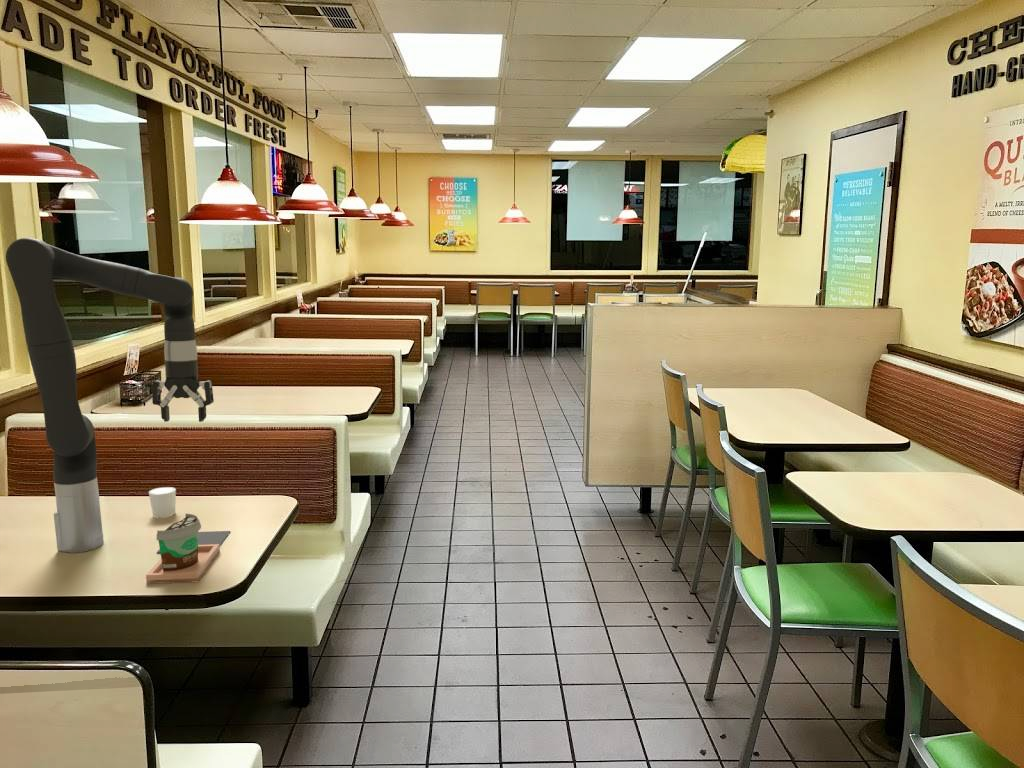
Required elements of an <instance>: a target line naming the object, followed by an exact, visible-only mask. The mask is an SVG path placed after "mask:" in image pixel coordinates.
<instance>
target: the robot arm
mask: <svg viewBox="0 0 1024 768" xmlns="http://www.w3.org/2000/svg"><path fill="white" fill-rule="evenodd" d="M5 261H6V262H5V263H6V265H7V268H8V271H9V275H10V276H11V278H12V281H13V284H14V287H15V291H16V294H17V296H18V301H19V305H20V311H21V320H22V326H23V332H24V339H25V343H26V349H27V353H28V357H29V360H30V364H31V367H32V372H33V375H34V378H35V379H34V380H35V383H36V385H37V389H38V392H39V395H40V399H41V402H42V403H41V404H42V409H43V417H44V427H45V428H44V429H45V437H46V438H45V439H46V442H47V445H48V446H49V448H50V449H51V450H52V451H53V470H52V477H53V485H54V492H55V493H54V494H55V502H56V510H57V511H55V512H54V513H53V522H54V529H55V530H54V531H55V539H56V546H57V547H56V548H57V551H58V552H59V551H60V552H63V553H68V554H69V553H71V554H72V553H73V554H74V553H84V552H86V551H87V552H88V551H92V550H94V549H97V548H99V547H101V546H102V545H103V544H104V533H103V532H104V531H103V523H102V522H103V521H102V512H101V503H100V494H99V484H98V483H99V482H98V474H97V471H98V470H97V468H98V467H97V466H98V459H97V458H98V457H97V444H96V432H95V428H94V424H93V423H92V421H91V420H90V419H89V417H88V416H86V415H84V414H82V411H81V407H80V403H79V400H78V391H77V389H78V388H77V386H78V385H77V384H78V383H77V380H78V379H77V376H78V375H77V360H76V352H75V348H74V343H73V339H72V334H71V331H70V328H69V326H68V322H67V319H66V318H65V316H64V313H63V311H62V309H61V307H60V305H59V302H58V300H57V295H56V291H55V283H54V282H55V281H54V279H61V280H67V281H68V280H69V281H74V282H78V283H82V284H86V285H89V286H93V287H95V288H98V289H101V290H104V291H105V290H106V291H109V292H112V293H116V294H121V295H124V296H129V297H133V298H139V299H140V298H141V299H146V300H149V301H153V302H156V303H160V304H163V311H164V327H163V328H164V329H163V330H164V331H163V332H164V346H163V347H164V350H163V351H164V354H163V355H164V368H165V369H164V371H165V380H160V379H157V380H154V381H153V382H152V392H151V393H152V397H151V398H152V401H151V402H152V404H153V405H155V406H156V405H157V406H159V408H160V416H161V417H160V418H161V419H162V420H163V422H164V423H165V422H166V423H167V422H169V421H170V420H171V419H170V417H171V416H170V406H169V403H170V402H171V401H172V400H173V399H174V398H175V399H181V398H183V399H190V398H191V399H192V401H194V402H195V403H196V405H198V408H197V410H198V411H197V412H198V422H200V423H201V422H204V421H205V419H206V418H207V406H210V405H211V404H214V400H215V399H214V392H213V391H214V390H213V382H212V380H210V379H208V380H206V381H200V378H199V369H198V368H199V365H198V350H197V349H198V347H197V343H196V330H195V328H196V327H195V320H194V316H193V313H194V307H193V306H194V305H193V304H194V302H193V301H194V300H193V299H194V290H193V287H192V285H191V283H190V282H189V281H187V280H186V279H185V278H182V277H173V276H168V275H163V274H159V273H154V272H151V271H149V270H146V269H143V268H140V267H135V266H130V265H127V264H122V263H118V262H113V261H107V260H101V259H96V258H91V257H88V256H83V255H79V254H75V253H73V252H69V251H67V250H64V249H62V248H59V247H56V246H54V245H51V244H48V243H47V242H45V241H44V240H42V239H39V238H34V237H33V238H32V237H21V238H19V239H16V240H14V241H13V242H11V244H9V245H8V247H7V249H6V251H5ZM164 387H165V389H166V390H167V391H168V392H167V393H166V395H165V396H164V398H163V399H162V390H163V388H164ZM200 387H201V389H202V390H204V394H205V399H204V398H203V397H202V394H201V393H200V392H199V391H198V390H199V388H200Z"/></svg>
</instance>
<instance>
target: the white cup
mask: <svg viewBox="0 0 1024 768" xmlns="http://www.w3.org/2000/svg"><path fill="white" fill-rule="evenodd" d="M176 493H177V489H176V488H175V487H173V486H162V487H156V488H153V489H150V490H149V491H148V497H149V500H150V508H151V512H152V516H153V517H154V516H155V517H165V518H168V517H167V516H170V517H172V516H171V515H173V514H174V515H176V502H177V501H176V498H177V497H176V495H177V494H176ZM174 515H173V516H174ZM155 517H154V518H155Z"/></svg>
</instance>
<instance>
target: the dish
mask: <svg viewBox="0 0 1024 768" xmlns="http://www.w3.org/2000/svg"><path fill="white" fill-rule="evenodd" d="M220 547H221V546H220ZM220 547H219V544H210V545H198V562H197V563H196V564H194V565H193V566H191V567H188V568H185V569H181V570H176V571H163V566H162V559H161V558H160V559H159V560H158V561H157V562H156V564H155V565H154V566H153V567H152V568H151V569H150V570H149V571H148V572H147V573H146V575H145V580H146V581H145V582H146V584H147V583H149V584H151V583H154V584H173V583H174V582H175V583H177V582H180V583H193V582H192V581H198V582H199V581H200V580H201V579H202V577H203V576H204V574H205V573H206V572H207V570H208V569H209V568H210V566H211V565H212V563H213V562H214V561H215V560H216V558H217V557H218V556H219V554H220V553H221V550H220ZM205 571H206V572H205ZM204 572H205V573H204ZM202 575H203V576H202ZM200 578H201V579H200ZM199 579H200V580H199ZM168 582H169V583H168ZM171 582H173V583H171ZM175 583H174V584H175ZM149 584H148V585H149Z"/></svg>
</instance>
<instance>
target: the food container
mask: <svg viewBox="0 0 1024 768" xmlns="http://www.w3.org/2000/svg"><path fill="white" fill-rule="evenodd" d="M201 529H202V524H201V521H200V519H199V518H198V516H197V515H195V514H192V513H185V517H184V518H183V519H182V520H178V521H177V522H174V523H172V524H170V526H168V527H167V528H166V529H165V530H158V529H157V530H156V532H157V533H156V541H158V546H159V549H160V553H159V554H160V559H162V566H163V571H176V570H181V569H185V568H188V567H191V566H193V565H194V564H196V563H197V562H198V532H200V530H201Z"/></svg>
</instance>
